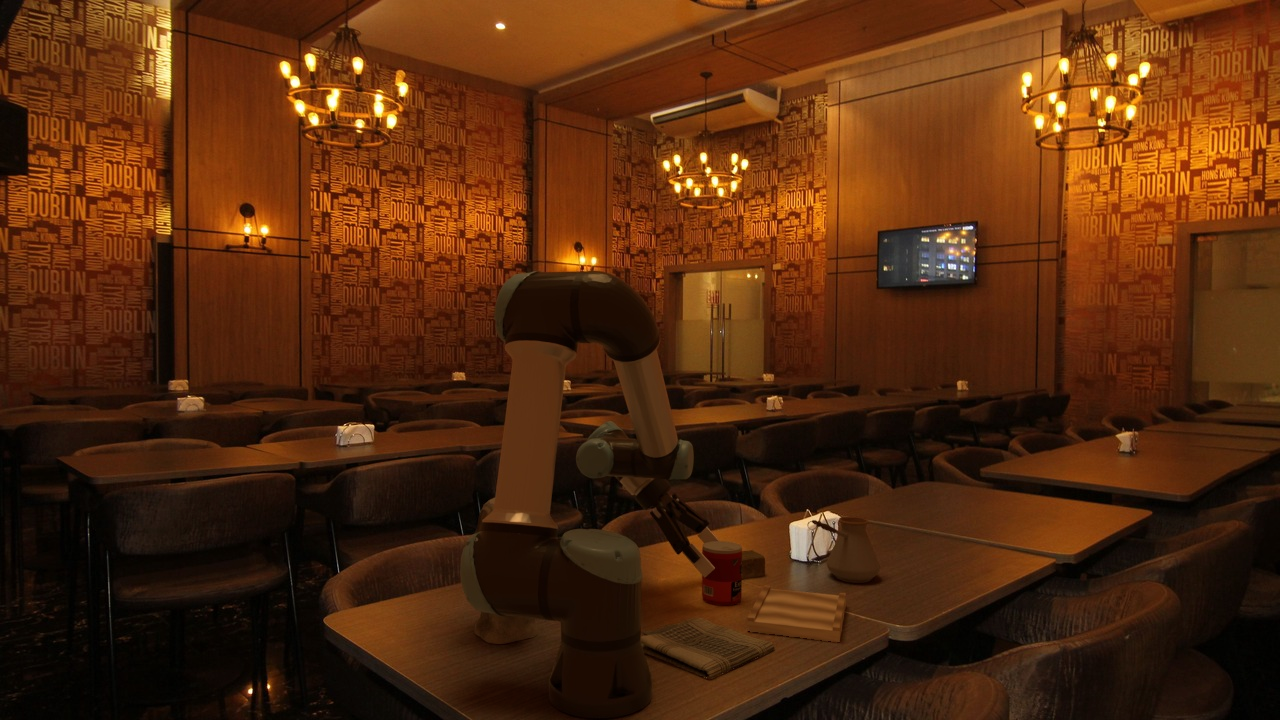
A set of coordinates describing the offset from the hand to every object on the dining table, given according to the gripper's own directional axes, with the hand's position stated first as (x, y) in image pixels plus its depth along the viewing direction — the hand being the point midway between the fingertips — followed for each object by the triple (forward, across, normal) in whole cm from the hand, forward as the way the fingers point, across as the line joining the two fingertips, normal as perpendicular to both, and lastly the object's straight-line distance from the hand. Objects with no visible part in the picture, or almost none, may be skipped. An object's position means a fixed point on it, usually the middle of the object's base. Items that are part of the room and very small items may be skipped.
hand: (717, 563), depth 159 cm
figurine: (-18, +31, -28) cm, 45 cm away
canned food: (+6, +1, -4) cm, 7 cm away
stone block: (+7, -16, -4) cm, 18 cm away
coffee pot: (+22, -18, +12) cm, 31 cm away
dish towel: (+7, +27, -3) cm, 28 cm away
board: (+17, +7, +7) cm, 20 cm away
